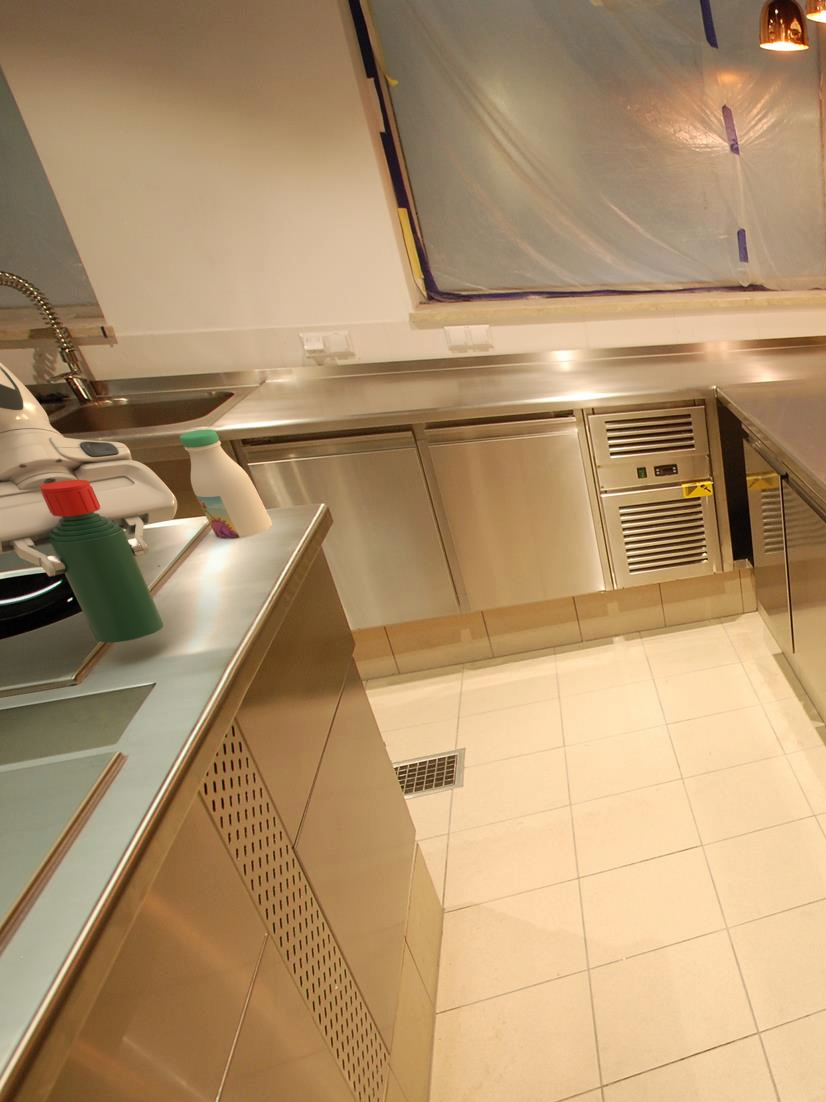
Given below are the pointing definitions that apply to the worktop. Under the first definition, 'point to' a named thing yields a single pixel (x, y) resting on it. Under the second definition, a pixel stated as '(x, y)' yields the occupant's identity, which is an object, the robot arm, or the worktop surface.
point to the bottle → (105, 578)
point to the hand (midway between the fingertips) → (101, 562)
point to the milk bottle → (223, 488)
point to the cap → (70, 498)
